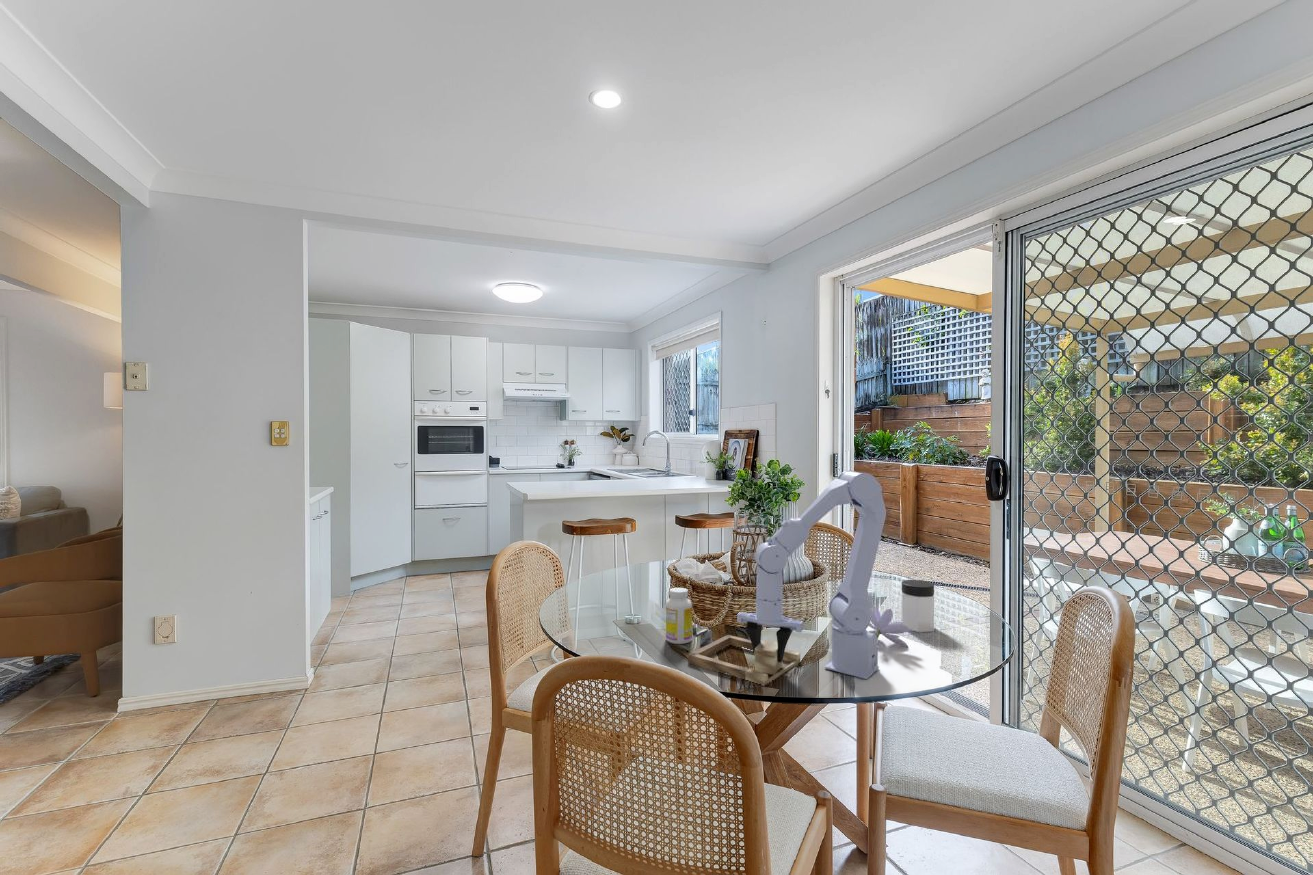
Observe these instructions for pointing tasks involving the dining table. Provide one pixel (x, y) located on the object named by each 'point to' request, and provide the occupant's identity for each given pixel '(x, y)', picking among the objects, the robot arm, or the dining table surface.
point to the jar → (918, 605)
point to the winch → (703, 636)
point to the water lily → (887, 626)
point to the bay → (703, 660)
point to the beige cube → (767, 657)
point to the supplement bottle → (678, 617)
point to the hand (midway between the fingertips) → (768, 658)
